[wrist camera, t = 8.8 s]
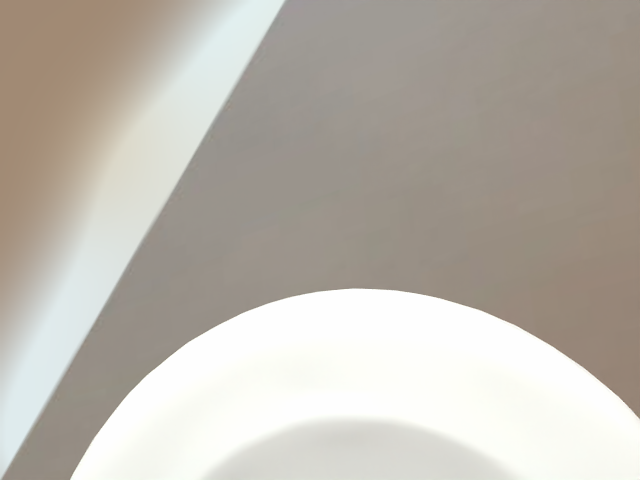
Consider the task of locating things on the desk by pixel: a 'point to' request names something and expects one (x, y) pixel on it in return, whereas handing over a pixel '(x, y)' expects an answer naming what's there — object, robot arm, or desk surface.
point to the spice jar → (367, 401)
